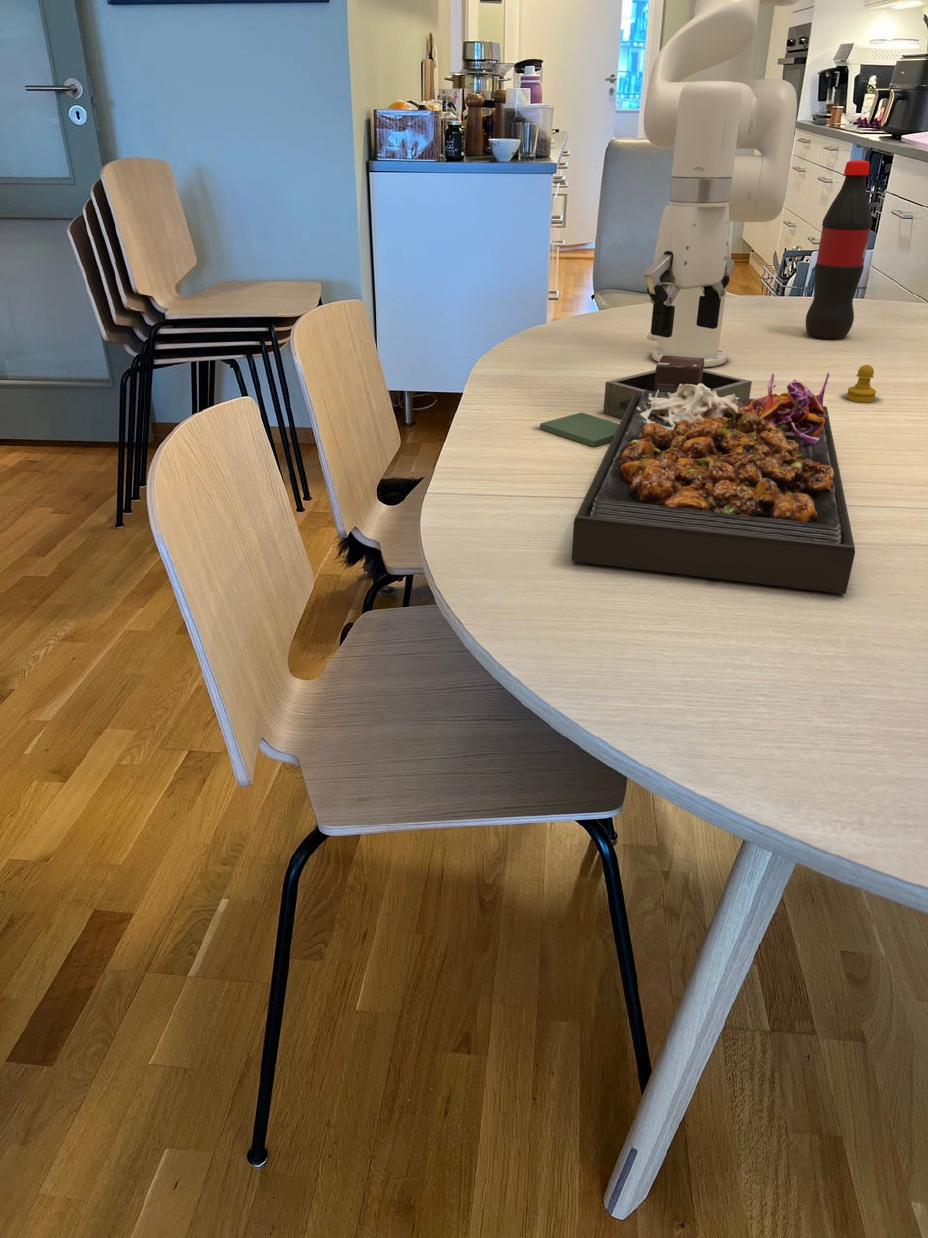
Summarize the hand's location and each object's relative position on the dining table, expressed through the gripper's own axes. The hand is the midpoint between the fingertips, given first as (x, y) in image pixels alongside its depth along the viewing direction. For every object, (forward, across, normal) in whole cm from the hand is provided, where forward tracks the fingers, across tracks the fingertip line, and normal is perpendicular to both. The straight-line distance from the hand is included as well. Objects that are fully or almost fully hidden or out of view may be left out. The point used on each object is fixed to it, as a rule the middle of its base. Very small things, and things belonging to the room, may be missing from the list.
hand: (684, 331), depth 125 cm
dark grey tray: (+11, -1, 0) cm, 11 cm away
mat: (+12, +15, -2) cm, 19 cm away
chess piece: (+11, -28, +13) cm, 32 cm away
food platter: (+12, +21, +23) cm, 33 cm away
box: (+12, -1, 0) cm, 12 cm away
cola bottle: (+10, -63, -14) cm, 65 cm away
